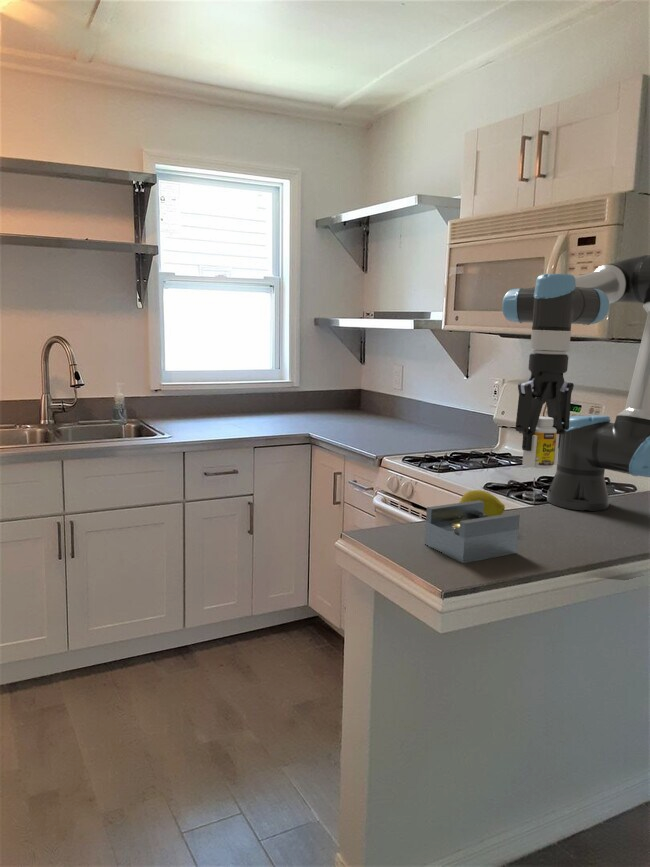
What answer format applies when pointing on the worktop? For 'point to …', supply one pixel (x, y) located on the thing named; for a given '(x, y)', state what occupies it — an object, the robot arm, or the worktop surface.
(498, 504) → the lemon
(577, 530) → the worktop surface
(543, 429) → the supplement bottle
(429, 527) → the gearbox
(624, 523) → the worktop surface
